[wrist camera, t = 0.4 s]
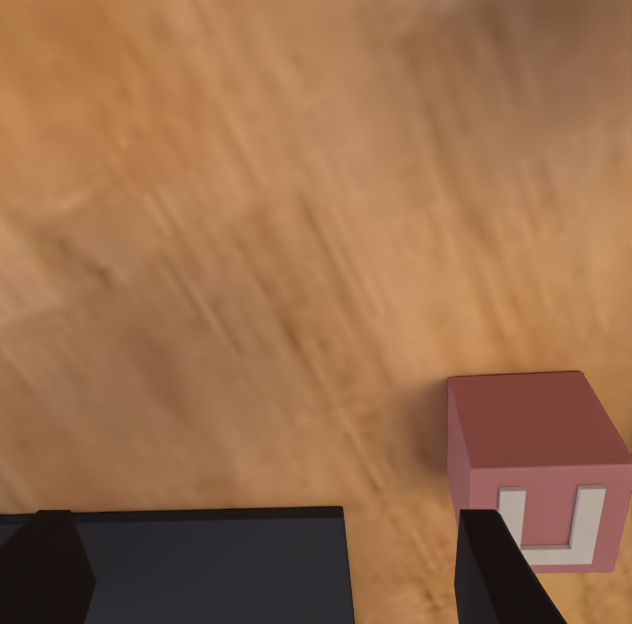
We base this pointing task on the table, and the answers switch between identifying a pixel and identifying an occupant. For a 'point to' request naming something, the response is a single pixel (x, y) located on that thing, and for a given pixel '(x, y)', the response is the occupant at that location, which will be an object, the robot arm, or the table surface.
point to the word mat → (215, 566)
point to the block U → (541, 466)
